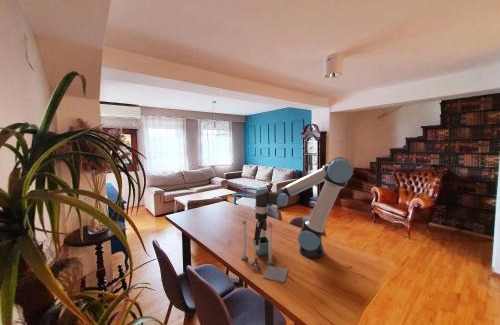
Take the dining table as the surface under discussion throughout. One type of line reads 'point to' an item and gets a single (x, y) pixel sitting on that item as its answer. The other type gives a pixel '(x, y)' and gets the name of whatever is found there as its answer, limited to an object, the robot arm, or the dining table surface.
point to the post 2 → (270, 246)
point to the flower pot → (262, 246)
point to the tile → (276, 274)
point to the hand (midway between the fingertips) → (260, 244)
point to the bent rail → (256, 265)
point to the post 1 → (244, 241)
